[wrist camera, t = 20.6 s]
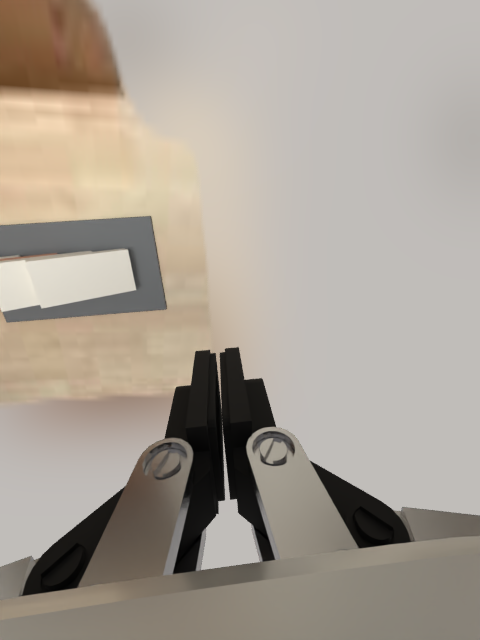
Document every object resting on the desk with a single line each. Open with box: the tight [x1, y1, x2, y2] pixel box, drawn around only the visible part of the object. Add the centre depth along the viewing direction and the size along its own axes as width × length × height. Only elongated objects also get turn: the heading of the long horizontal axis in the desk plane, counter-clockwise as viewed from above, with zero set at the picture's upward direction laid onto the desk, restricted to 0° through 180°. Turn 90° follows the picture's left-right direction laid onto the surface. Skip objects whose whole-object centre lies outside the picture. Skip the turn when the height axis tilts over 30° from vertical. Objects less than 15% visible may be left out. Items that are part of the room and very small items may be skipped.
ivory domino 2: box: [25, 248, 136, 309], centre depth 31 cm, size 2×5×10 cm
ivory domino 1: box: [0, 251, 92, 312], centre depth 31 cm, size 2×5×10 cm
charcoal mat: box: [0, 216, 167, 322], centre depth 34 cm, size 12×21×1 cm, turn 93°
